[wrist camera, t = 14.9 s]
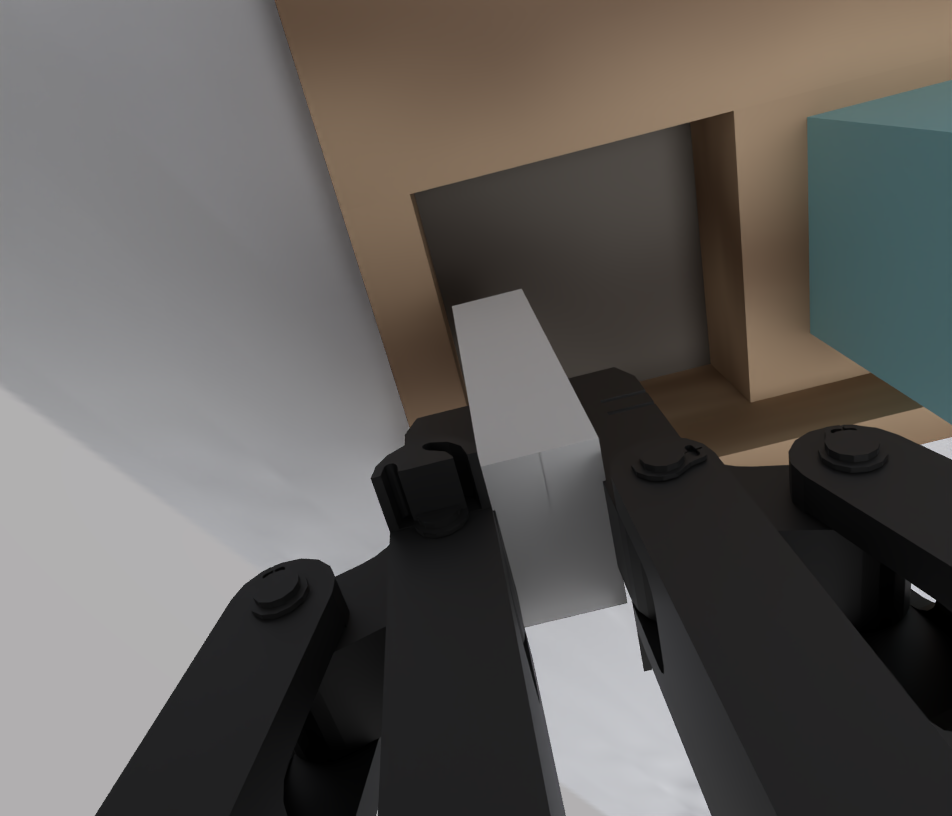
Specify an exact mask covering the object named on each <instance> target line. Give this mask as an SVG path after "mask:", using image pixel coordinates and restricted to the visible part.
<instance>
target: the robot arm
mask: <svg viewBox="0 0 952 816" xmlns="http://www.w3.org/2000/svg"><path fill="white" fill-rule="evenodd" d="M452 310H453V315H454V321H455V327H456V333H457V338H458V344H459V350H460V356H461V361H462V367H463V373H464V379H465V384H466V390H467V396H468V401H469V405H468V406H464V407H460V408H456V409H452V410H448V411H444V412H440V413H436V414H432V415H428V416H424V417H420V418H417V419H416V420H415V422H414V423H413V424H412V426H411V427H410V429H409V430H408V432H407V433H406V434H405V446H403V447H401V448H399V449H398V450H396V451H394V452H392V453H391V454H389V455H387V456H386V457H385V458H384V459H383V460H382V461H381V462H380V463H379V464H378V465H377V466H376V467H375V470H374V472H373V474H372V477H371V480H372V483H373V486H374V489H375V492H376V494H377V497H378V500H379V503H380V506H381V508H382V511H383V514H384V517H385V520H386V522H387V525H388V528H389V531H390V545H389V546H388V547H387V548H386V549H384V550H383V551H382V552H380V553H379V554H378V555H377V556H375V557H374V558H372V559H370V560H368V561H366V562H365V563H363V564H361V565H359V566H357V567H355V568H353V569H351V570H349V571H346V572H344V573H342V574H340V575H338V576H336V577H335V576H334V574H333V571H332V569H331V567H330V566H329V565H327V564H325V563H323V562H322V561H320V560H316V559H297V560H293V561H288V562H283V563H280V564H278V565H275V566H274V567H272V568H271V567H270V568H269V569H267V570H265V571H263V572H261V573H260V574H258V575H257V576H256V577H254V578H253V579H252V580H250V581H249V582H247V583H246V584H245V585H244V586H243V587H242V588H241V589H240V590H239V591H238V593H237V594H236V595H235V596H234V597H233V599H232V600H231V601H230V603H229V604H228V606H227V607H226V609H225V611H224V612H223V614H222V615H221V617H220V618H219V620H218V622H217V623H216V625H215V627H214V628H213V630H212V631H211V633H210V634H209V636H208V638H207V639H206V641H205V642H204V644H203V645H202V647H201V649H200V650H199V652H198V653H197V655H196V657H195V658H194V660H193V661H192V663H191V664H190V666H189V668H188V669H187V671H186V673H185V674H184V675H183V677H182V679H181V680H180V682H179V684H178V685H177V687H176V689H175V690H174V691H173V693H172V694H171V696H170V698H169V699H168V701H167V703H166V704H165V706H164V707H163V709H162V710H161V712H160V713H159V715H158V717H157V718H156V720H155V721H154V723H153V725H152V726H151V728H150V729H149V731H148V733H147V734H146V736H145V737H144V739H143V740H142V742H141V744H140V745H139V747H138V748H137V750H136V752H135V753H134V755H133V756H132V758H131V759H130V761H129V763H128V764H127V766H126V767H125V769H124V770H123V772H122V774H121V775H120V777H119V778H118V780H117V782H116V783H115V785H114V786H113V788H112V790H111V791H110V793H109V794H108V796H107V797H106V799H105V801H104V802H103V804H102V805H101V807H100V808H99V810H98V812H97V813H96V815H95V816H376V814H377V810H378V816H566V815H565V810H564V805H563V801H562V796H561V792H560V786H559V782H558V777H557V772H556V768H555V763H554V758H553V753H552V749H551V744H550V739H549V734H548V730H547V725H546V720H545V715H544V711H543V706H542V701H541V696H540V692H539V687H538V682H537V677H536V673H535V668H534V663H533V659H532V654H531V651H530V647H529V643H528V639H527V636H526V632H525V627H529V626H533V625H537V624H541V623H546V622H550V621H554V620H558V619H562V618H566V617H571V616H575V615H579V614H583V613H587V612H592V611H596V610H600V609H604V608H608V607H612V606H617V605H621V604H625V603H627V598H626V592H625V587H624V583H625V585H626V588H627V590H628V592H629V595H630V597H631V599H632V603H633V609H634V615H635V621H636V627H637V632H638V638H639V644H640V650H641V656H642V662H643V668H644V671H648V670H652V669H653V671H654V674H655V676H656V679H657V681H658V684H659V686H660V689H661V691H662V694H663V696H664V699H665V701H666V704H667V706H668V709H669V711H670V713H671V716H672V718H673V721H674V723H675V726H676V728H677V731H678V733H679V736H680V738H681V741H682V743H683V746H684V748H685V751H686V753H687V756H688V758H689V761H690V763H691V766H692V768H693V771H694V773H695V776H696V778H697V781H698V783H699V786H700V788H701V791H702V793H703V796H704V798H705V800H706V803H707V805H708V808H709V810H710V813H711V815H712V816H952V460H951V459H949V458H947V457H945V456H943V455H941V454H938V453H936V452H934V451H932V450H930V449H928V448H926V447H924V446H921V445H919V444H917V443H915V442H913V441H911V440H909V439H907V438H904V437H902V436H900V435H898V434H895V433H892V432H889V431H886V430H883V429H880V428H876V427H867V426H859V425H841V426H840V425H835V426H828V427H825V428H821V429H817V430H813V431H810V432H808V433H806V434H804V435H803V436H801V437H800V438H798V439H796V440H795V441H794V443H793V444H792V446H791V448H790V450H789V451H788V454H789V465H774V466H732V465H725V464H724V463H723V462H722V461H721V459H720V458H719V457H718V456H717V454H716V453H715V452H714V451H712V450H711V449H710V448H708V447H707V446H706V445H704V444H703V443H700V442H697V441H694V440H690V439H687V438H681V437H680V436H679V434H678V433H677V432H676V430H675V429H674V428H673V426H672V425H671V424H670V422H669V421H668V420H667V418H666V417H665V416H664V414H663V413H662V412H661V410H660V409H659V408H658V406H657V405H656V404H654V401H653V400H652V398H651V397H650V396H649V394H648V393H647V392H645V389H644V387H643V386H642V385H641V383H640V382H639V381H638V379H637V378H636V377H635V376H634V375H632V374H629V373H627V372H625V371H622V370H620V369H618V368H616V367H612V368H608V369H604V370H600V371H596V372H592V373H588V374H584V375H580V376H576V377H572V378H567V376H566V374H565V372H564V370H563V368H562V366H561V364H560V362H559V360H558V358H557V356H556V354H555V353H554V351H553V349H552V347H551V345H550V343H549V341H548V339H547V337H546V335H545V333H544V331H543V329H542V327H541V325H540V323H539V322H538V320H537V318H536V316H535V314H534V312H533V310H532V308H531V306H530V304H529V302H528V300H527V298H526V296H525V294H524V292H523V291H522V289H518V290H514V291H510V292H506V293H502V294H499V295H495V296H491V297H487V298H483V299H479V300H475V301H471V302H467V303H463V304H459V305H455V306H452ZM623 580H624V581H623ZM911 583H912V584H913V585H915V586H916V587H918V588H919V589H921V590H922V591H924V592H925V593H927V594H928V595H930V596H931V597H932V598H934V599H935V600H936V603H934V602H931V601H929V600H927V599H925V598H923V597H922V596H920V595H919V594H918V593H916V592H915V591H913V590H912V589H911Z"/></svg>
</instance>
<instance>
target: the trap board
mask: <svg viewBox="0 0 952 816" xmlns="http://www.w3.org/2000/svg"><path fill="white" fill-rule="evenodd" d="M275 3H276V6H277V10H278V13H279V16H280V19H281V22H282V25H283V29H284V32H285V35H286V38H287V41H288V44H289V48H290V51H291V54H292V57H293V60H294V63H295V67H296V70H297V73H298V76H299V79H300V82H301V86H302V89H303V92H304V95H305V98H306V101H307V105H308V108H309V111H310V114H311V117H312V120H313V123H314V127H315V130H316V133H317V136H318V139H319V142H320V146H321V149H322V152H323V155H324V158H325V161H326V165H327V168H328V171H329V174H330V177H331V180H332V184H333V187H334V190H335V193H336V196H337V199H338V203H339V206H340V209H341V212H342V215H343V218H344V222H345V225H346V228H347V231H348V234H349V237H350V240H351V244H352V247H353V250H354V253H355V256H356V259H357V263H358V266H359V269H360V272H361V275H362V278H363V282H364V285H365V288H366V291H367V294H368V297H369V301H370V304H371V307H372V310H373V313H374V316H375V320H376V323H377V326H378V329H379V332H380V335H381V338H382V342H383V345H384V348H385V351H386V354H387V357H388V361H389V364H390V367H391V370H392V373H393V376H394V380H395V383H396V386H397V389H398V392H399V395H400V399H401V402H402V405H403V408H404V411H405V414H406V418H407V421H408V424H409V427H411V426H412V424H413V423H414V422H415V420H416V419H417V418H420V417H424V416H428V415H432V414H436V413H440V412H444V411H448V410H452V409H456V408H460V407H464V406H468V405H469V401H468V396H467V390H466V384H465V379H464V373H463V367H462V361H461V356H460V350H459V344H458V338H457V333H456V327H455V321H454V315H453V310H452V306H455V305H459V304H463V303H467V302H471V301H475V300H479V299H483V298H487V297H491V296H495V295H499V294H502V293H506V292H510V291H514V290H518V289H522V291H523V292H524V294H525V296H526V298H527V300H528V302H529V304H530V306H531V308H532V310H533V312H534V314H535V316H536V318H537V320H538V322H539V323H540V325H541V327H542V329H543V331H544V333H545V335H546V337H547V339H548V341H549V343H550V345H551V347H552V349H553V351H554V353H555V354H556V356H557V358H558V360H559V362H560V364H561V366H562V368H563V370H564V372H565V374H566V376H567V378H572V377H576V376H580V375H584V374H588V373H592V372H596V371H600V370H604V369H608V368H612V367H616V368H618V369H620V370H622V371H625V372H627V373H629V374H632V375H634V376H635V377H636V378H637V379H638V381H639V382H640V383H641V385H642V386H643V387H644V389H645V392H647V393H648V394H649V396H650V397H651V398H652V400H653V401H654V404H656V405H657V406H658V408H659V409H660V410H661V412H662V413H663V414H664V416H665V417H666V418H667V420H668V421H669V422H670V424H671V425H672V426H673V428H674V429H675V430H676V432H677V433H678V434H679V436H680V437H681V438H687V439H690V440H694V441H697V442H700V443H703V444H704V445H706V446H707V447H708V448H710V449H711V450H712V451H714V452H715V453H716V454H717V456H718V457H719V458H720V459H721V461H722V462H723V463H724V464H725V465H732V466H774V465H789V454H788V451H789V450H790V448H791V446H792V444H793V443H794V441H795V440H796V439H798V438H800V437H801V436H803V435H804V434H806V433H808V432H810V431H813V430H817V429H821V428H825V427H828V426H835V425H840V426H841V425H859V426H867V427H876V428H880V429H883V430H886V431H889V432H892V433H895V434H898V435H900V436H902V437H904V438H907V439H909V440H911V441H913V442H915V443H917V444H919V445H920V444H925V443H929V442H933V441H937V440H941V439H945V438H949V437H952V425H951V424H950V423H948V422H946V421H945V420H943V419H942V418H940V417H939V416H937V415H936V414H934V413H933V412H931V411H929V410H928V409H926V408H925V407H923V406H922V405H920V404H919V403H917V402H916V401H914V400H912V399H911V398H909V397H908V396H906V395H905V394H903V393H902V392H900V391H899V390H897V389H895V388H894V387H892V386H891V385H889V384H888V383H886V382H885V381H883V380H882V379H880V378H878V377H877V376H875V375H874V374H872V373H871V372H869V371H868V370H866V369H865V368H863V367H861V366H860V365H858V364H857V363H855V362H854V361H852V360H851V359H849V358H847V357H846V356H844V355H843V354H841V353H840V352H838V351H837V350H835V349H834V348H832V347H830V346H829V345H827V344H826V343H824V342H823V341H821V340H820V339H818V338H817V337H815V336H813V335H812V334H810V286H809V214H808V143H807V117H809V116H813V115H817V114H821V113H825V112H829V111H833V110H837V109H841V108H844V107H848V106H852V105H856V104H860V103H864V102H868V101H872V100H875V99H879V98H883V97H887V96H891V95H895V94H899V93H903V92H907V91H910V90H914V89H918V88H922V87H926V86H930V85H934V84H938V83H941V82H945V81H949V80H952V0H275Z"/></svg>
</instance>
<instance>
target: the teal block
mask: <svg viewBox="0 0 952 816" xmlns="http://www.w3.org/2000/svg"><path fill="white" fill-rule="evenodd" d="M807 143H808V214H809V286H810V334H812V335H813V336H815V337H817V338H818V339H820V340H821V341H823V342H824V343H826V344H827V345H829V346H830V347H832V348H834V349H835V350H837V351H838V352H840V353H841V354H843V355H844V356H846V357H847V358H849V359H851V360H852V361H854V362H855V363H857V364H858V365H860V366H861V367H863V368H865V369H866V370H868V371H869V372H871V373H872V374H874V375H875V376H877V377H878V378H880V379H882V380H883V381H885V382H886V383H888V384H889V385H891V386H892V387H894V388H895V389H897V390H899V391H900V392H902V393H903V394H905V395H906V396H908V397H909V398H911V399H912V400H914V401H916V402H917V403H919V404H920V405H922V406H923V407H925V408H926V409H928V410H929V411H931V412H933V413H934V414H936V415H937V416H939V417H940V418H942V419H943V420H945V421H946V422H948V423H950V424H951V425H952V80H949V81H945V82H941V83H938V84H934V85H930V86H926V87H922V88H918V89H914V90H910V91H907V92H903V93H899V94H895V95H891V96H887V97H883V98H879V99H875V100H872V101H868V102H864V103H860V104H856V105H852V106H848V107H844V108H841V109H837V110H833V111H829V112H825V113H821V114H817V115H813V116H809V117H807Z"/></svg>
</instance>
